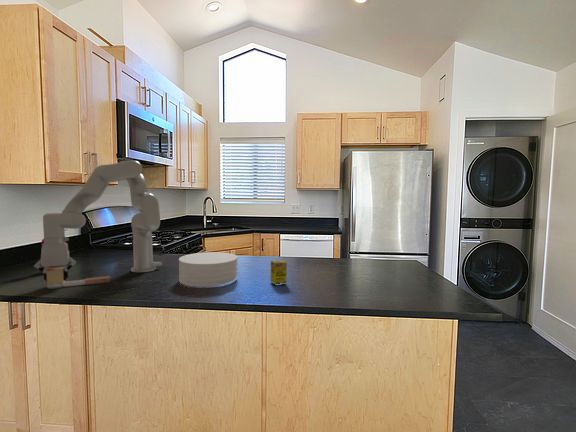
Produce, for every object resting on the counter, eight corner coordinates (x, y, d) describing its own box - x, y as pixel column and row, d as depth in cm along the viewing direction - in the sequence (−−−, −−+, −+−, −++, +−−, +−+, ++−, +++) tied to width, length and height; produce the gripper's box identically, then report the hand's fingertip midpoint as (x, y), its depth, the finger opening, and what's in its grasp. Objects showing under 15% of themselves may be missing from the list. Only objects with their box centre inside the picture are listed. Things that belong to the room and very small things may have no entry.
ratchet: (109, 279, 155) (109, 268, 155) (109, 282, 149) (109, 271, 149) (48, 285, 143) (48, 273, 143) (46, 289, 138) (45, 277, 137)
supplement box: (275, 286, 148) (275, 263, 147) (270, 283, 153) (270, 260, 152) (286, 284, 150) (287, 262, 149) (281, 281, 156) (281, 259, 155)
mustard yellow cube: (65, 279, 146) (64, 266, 146) (63, 282, 141) (63, 269, 140) (49, 281, 143) (48, 268, 143) (46, 284, 138) (46, 271, 137)
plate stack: (199, 293, 137) (199, 267, 136) (168, 280, 156) (168, 257, 155) (248, 280, 157) (249, 257, 157) (216, 270, 176) (216, 250, 175)
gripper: (78, 238, 148) (80, 276, 149) (32, 240, 140) (34, 280, 141) (76, 240, 141) (78, 280, 143) (28, 243, 133) (30, 285, 135)
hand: (56, 280), depth 142 cm, fingers closed on mustard yellow cube, 5 cm apart
